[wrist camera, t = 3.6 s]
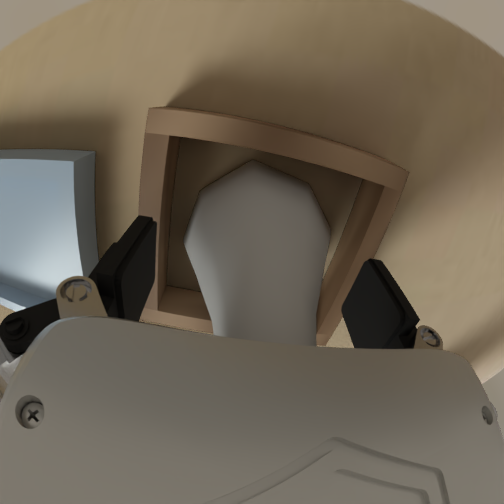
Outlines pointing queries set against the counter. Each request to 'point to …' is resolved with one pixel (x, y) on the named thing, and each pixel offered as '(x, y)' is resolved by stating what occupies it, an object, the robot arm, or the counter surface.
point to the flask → (259, 255)
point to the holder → (278, 142)
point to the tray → (45, 222)
